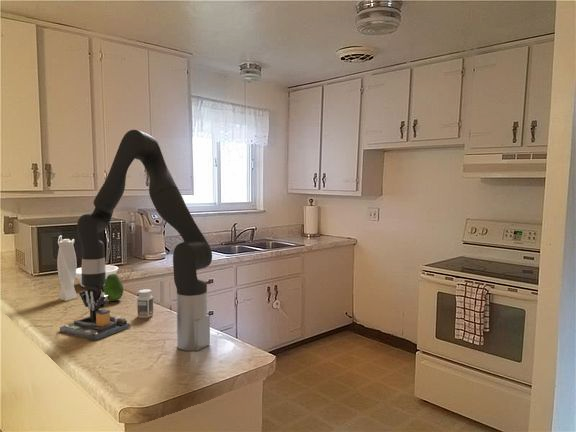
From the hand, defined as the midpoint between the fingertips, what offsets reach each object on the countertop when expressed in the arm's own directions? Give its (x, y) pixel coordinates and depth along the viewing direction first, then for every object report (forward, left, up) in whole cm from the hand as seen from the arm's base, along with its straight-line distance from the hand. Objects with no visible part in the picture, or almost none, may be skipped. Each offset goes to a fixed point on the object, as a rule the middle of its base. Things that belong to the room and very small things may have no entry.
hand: (94, 319), depth 141 cm
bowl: (+54, -42, -4) cm, 68 cm away
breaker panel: (0, 0, -4) cm, 4 cm away
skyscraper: (+44, -20, -4) cm, 48 cm away
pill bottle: (-4, -19, -4) cm, 20 cm away
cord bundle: (0, -6, -2) cm, 6 cm away
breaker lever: (-4, 0, -2) cm, 5 cm away
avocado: (+23, -27, -4) cm, 35 cm away
